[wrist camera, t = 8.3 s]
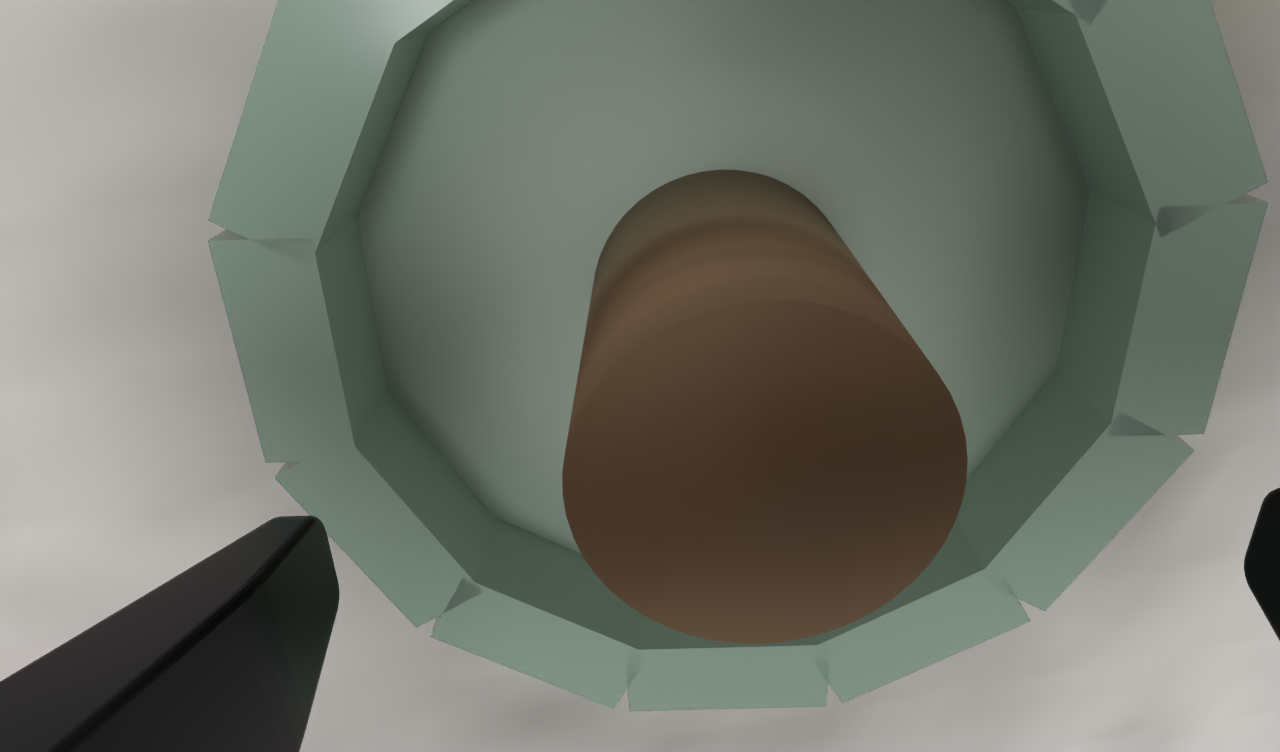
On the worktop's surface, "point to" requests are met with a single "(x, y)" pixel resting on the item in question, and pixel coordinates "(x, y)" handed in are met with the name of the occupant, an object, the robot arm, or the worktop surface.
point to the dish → (726, 140)
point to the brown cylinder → (753, 420)
